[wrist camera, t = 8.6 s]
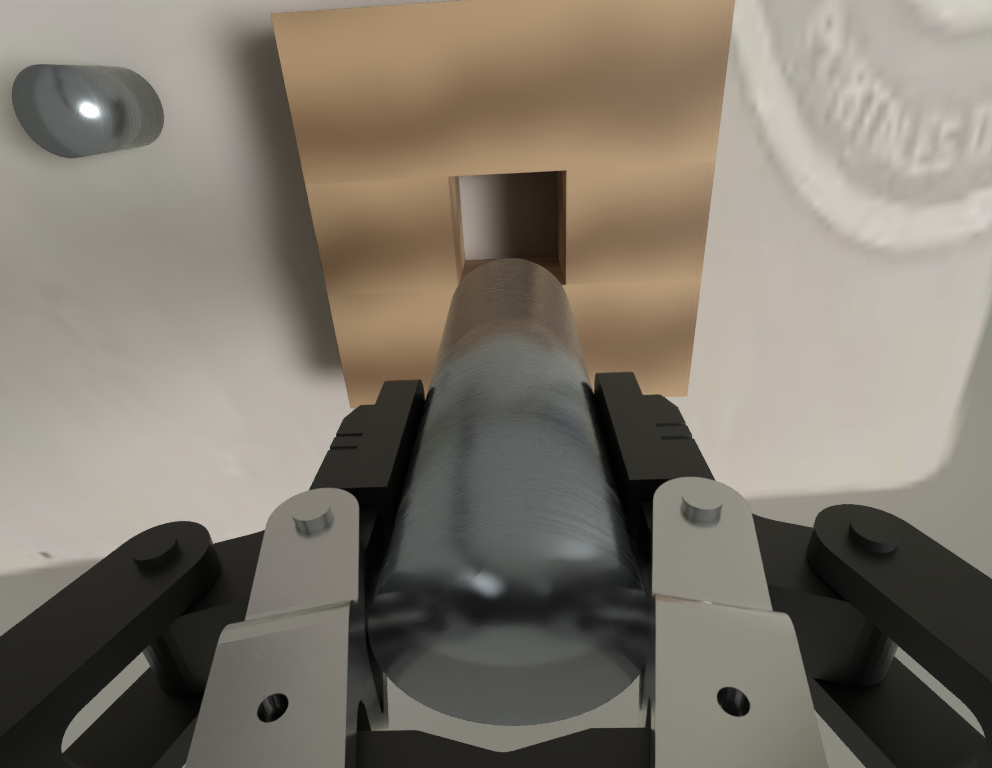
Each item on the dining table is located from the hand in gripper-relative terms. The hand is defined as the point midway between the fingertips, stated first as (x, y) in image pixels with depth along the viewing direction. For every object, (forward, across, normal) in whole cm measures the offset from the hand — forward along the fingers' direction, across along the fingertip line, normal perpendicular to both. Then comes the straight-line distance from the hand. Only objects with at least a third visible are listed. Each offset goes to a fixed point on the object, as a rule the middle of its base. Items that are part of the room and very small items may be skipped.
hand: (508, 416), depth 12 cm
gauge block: (+21, 0, 0) cm, 21 cm away
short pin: (+21, +19, -6) cm, 29 cm away
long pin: (+6, 0, 0) cm, 6 cm away
